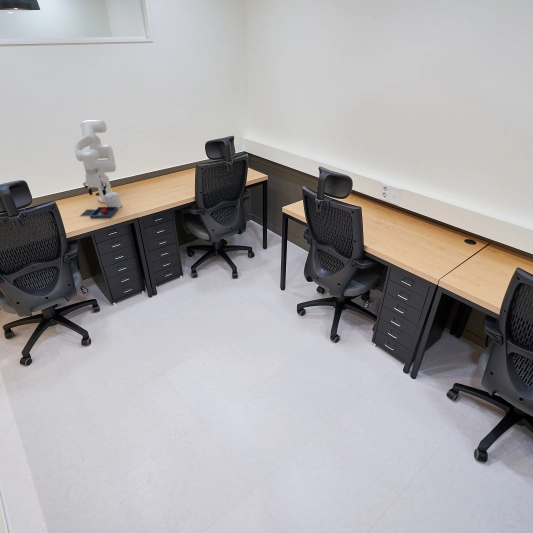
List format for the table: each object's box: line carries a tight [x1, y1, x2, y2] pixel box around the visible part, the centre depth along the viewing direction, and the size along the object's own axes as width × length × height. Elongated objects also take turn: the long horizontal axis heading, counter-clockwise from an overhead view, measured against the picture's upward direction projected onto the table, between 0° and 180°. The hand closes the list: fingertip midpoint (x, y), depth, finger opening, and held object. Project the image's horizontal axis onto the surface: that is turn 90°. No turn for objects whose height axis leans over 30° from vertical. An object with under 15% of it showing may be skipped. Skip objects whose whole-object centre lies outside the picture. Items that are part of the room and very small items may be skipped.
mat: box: [80, 209, 96, 217], centre depth 264 cm, size 11×7×1 cm, turn 179°
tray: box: [89, 206, 119, 219], centre depth 261 cm, size 15×14×3 cm
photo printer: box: [105, 191, 122, 209], centre depth 268 cm, size 10×4×12 cm, turn 123°
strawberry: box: [100, 208, 107, 215], centre depth 261 cm, size 8×4×4 cm, turn 179°
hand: (98, 194), depth 252 cm, fingers open, 9 cm apart
